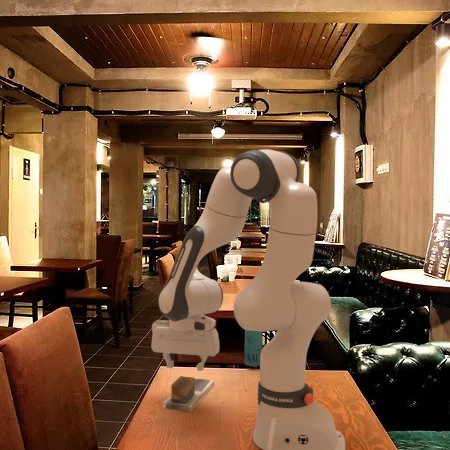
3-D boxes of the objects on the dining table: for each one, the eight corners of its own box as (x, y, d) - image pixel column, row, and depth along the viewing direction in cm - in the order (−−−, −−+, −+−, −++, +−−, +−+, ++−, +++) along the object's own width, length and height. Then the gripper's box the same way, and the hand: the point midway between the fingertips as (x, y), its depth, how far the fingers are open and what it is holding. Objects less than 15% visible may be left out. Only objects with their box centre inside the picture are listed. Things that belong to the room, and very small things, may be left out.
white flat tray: (214, 384, 145) (214, 380, 145) (191, 412, 126) (192, 406, 126) (188, 381, 147) (188, 376, 147) (162, 407, 128) (162, 402, 128)
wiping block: (194, 394, 134) (194, 377, 134) (186, 404, 127) (186, 386, 127) (180, 392, 135) (180, 376, 135) (171, 402, 129) (171, 384, 128)
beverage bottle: (251, 362, 165) (251, 309, 164) (266, 367, 161) (266, 312, 160) (240, 367, 160) (240, 312, 159) (255, 372, 156) (256, 315, 155)
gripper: (147, 321, 130) (148, 369, 130) (213, 325, 124) (214, 375, 124) (156, 317, 136) (157, 362, 136) (220, 320, 130) (221, 368, 130)
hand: (185, 368), depth 130 cm, fingers open, 8 cm apart
